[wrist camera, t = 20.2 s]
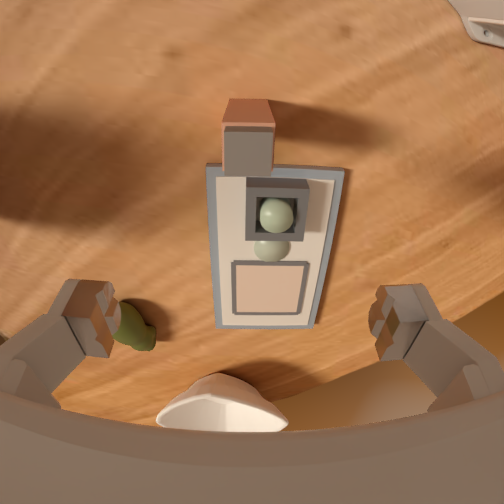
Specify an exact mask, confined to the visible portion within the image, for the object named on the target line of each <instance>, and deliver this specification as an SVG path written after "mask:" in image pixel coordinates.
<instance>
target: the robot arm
mask: <svg viewBox="0 0 504 504" xmlns="http://www.w3.org/2000/svg"><path fill="white" fill-rule="evenodd" d="M448 1H449V2H450V3H451V5H452V6H453V7H454V8H455V9H456V10H457V12H458V13H459V15H460V16H461V19H462V21H463V23H464V26H465V28H466V30H467V33H468V34H469V36H470V37H471V39H473V40H474V41H476V42H481V43H485V44H490V45H494V46H498V47H502V48H504V0H448ZM484 31H485V35H484ZM114 292H115V290H114V288H113V285H112V283H111V282H109V281H96V280H83V279H82V280H79V279H68V280H66V281H65V283H64V284H63V286H62V288H61V290H60V291H59V293H58V295H57V297H56V299H55V300H54V302H53V304H52V306H51V308H50V310H49V311H48V313H47V314H43V315H41V316H40V317H39V318H37V319H36V320H34V321H33V322H32V323H30V324H29V325H28V326H26V327H25V328H23V329H22V330H21V331H19V332H18V333H17V334H15V335H14V336H13V337H11V338H10V339H9V340H7V341H6V342H5V343H3V344H2V345H1V346H0V504H504V372H503V370H502V368H501V366H500V364H499V362H498V360H497V358H496V357H495V356H494V355H493V354H491V353H490V352H489V351H488V350H486V349H485V348H484V347H482V346H481V345H480V344H479V343H477V342H476V341H475V340H473V339H472V338H471V337H470V336H468V335H467V334H466V333H464V332H463V331H462V330H460V329H459V328H458V327H456V326H455V325H454V324H452V323H451V322H450V321H448V320H447V319H442V317H441V315H440V313H439V311H438V309H437V307H436V305H435V303H434V301H433V300H432V298H431V296H430V294H429V292H428V291H427V289H426V287H425V286H424V285H423V284H422V283H420V284H408V285H407V284H401V285H380V286H379V288H378V289H377V291H376V294H375V295H376V298H377V301H376V302H374V303H373V304H372V305H371V308H370V311H369V318H368V322H369V328H370V332H371V334H372V335H373V336H375V337H376V338H377V340H376V343H375V347H376V350H377V353H378V357H379V360H380V361H388V360H400V359H404V360H403V361H404V362H405V363H406V364H407V365H408V366H409V367H410V368H411V369H412V371H413V372H414V373H415V374H416V375H417V376H418V377H419V378H420V379H421V380H422V381H423V382H424V383H425V385H427V387H428V388H429V389H430V390H431V391H432V392H433V393H434V394H435V395H436V396H437V399H436V400H435V401H434V402H433V403H432V404H431V405H430V406H429V408H428V410H427V411H428V413H424V414H419V415H414V416H409V417H405V418H400V419H394V420H388V421H382V422H376V423H369V424H362V425H355V426H347V427H338V428H329V429H317V430H302V431H281V432H222V431H202V430H187V429H176V428H166V427H157V426H149V425H141V424H134V423H127V422H121V421H115V420H110V419H104V418H99V417H94V416H89V415H84V414H80V413H75V412H71V411H67V410H63V409H61V406H60V403H59V402H58V401H57V400H56V399H55V398H54V396H53V395H52V394H51V393H52V392H53V391H54V390H55V389H56V388H57V387H58V386H59V385H60V383H61V382H62V381H63V380H64V379H65V378H66V377H67V376H68V375H69V374H70V373H71V372H72V371H73V370H74V369H75V368H76V367H77V366H78V365H79V364H80V363H81V362H82V360H83V359H84V358H85V357H86V356H93V357H103V358H109V357H110V353H111V350H112V347H113V344H114V339H113V337H112V335H113V334H114V333H116V332H117V331H118V329H119V326H120V322H121V310H120V305H119V302H118V301H117V300H116V299H115V298H114V297H113V294H114Z"/></svg>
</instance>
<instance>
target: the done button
mask: <svg viewBox="0 0 504 504" xmlns="http://www.w3.org/2000/svg"><path fill="white" fill-rule="evenodd" d="M259 209H260V222H261V225H262V227H263V228H264V229H265V230H267V231H269V232H271V233H281V232H284V231H286V230H287V229H289V228H290V226H291V225H292V223H293V213H292V209H291V204H290V201H289V200H288V198H277V197H264V198H263V199H262V200H261V202H260V206H259Z"/></svg>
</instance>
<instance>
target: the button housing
mask: <svg viewBox="0 0 504 504" xmlns="http://www.w3.org/2000/svg"><path fill="white" fill-rule="evenodd" d="M309 194H310V188H309V185H308V183H307V180H306V179H296V178H265V177H246V213H245V241H296V242H303V240H304V233H305V225H306V217H307V210H308V202H309ZM256 197H277V198H294V207H293V223H292V225H291V226H290V228H289V229H287V230H286V231H284V232H281V233H271V232H269V231H267V230H265V229H264V228H263V227H262V225H261V222H260V220H256Z"/></svg>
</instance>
